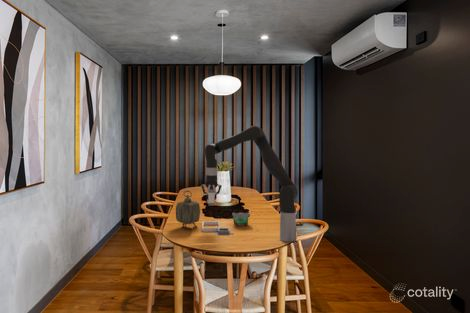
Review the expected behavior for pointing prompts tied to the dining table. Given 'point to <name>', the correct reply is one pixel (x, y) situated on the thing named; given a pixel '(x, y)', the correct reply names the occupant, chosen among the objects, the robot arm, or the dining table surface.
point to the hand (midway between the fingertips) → (211, 199)
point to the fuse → (211, 197)
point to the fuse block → (223, 231)
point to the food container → (240, 219)
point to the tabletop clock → (187, 211)
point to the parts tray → (210, 228)
